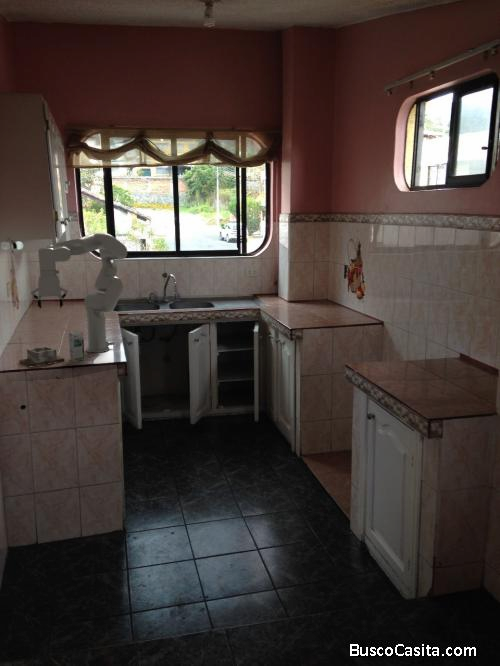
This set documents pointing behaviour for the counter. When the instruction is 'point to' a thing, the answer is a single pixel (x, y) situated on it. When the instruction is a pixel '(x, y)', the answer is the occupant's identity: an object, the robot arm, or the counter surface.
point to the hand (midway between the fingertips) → (50, 307)
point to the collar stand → (41, 356)
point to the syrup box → (76, 346)
